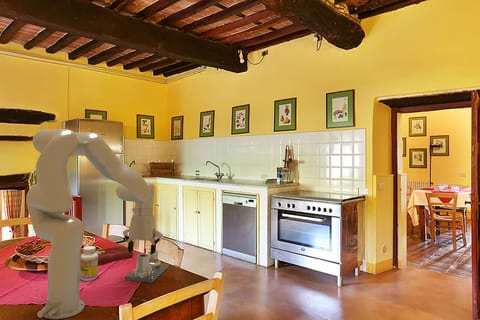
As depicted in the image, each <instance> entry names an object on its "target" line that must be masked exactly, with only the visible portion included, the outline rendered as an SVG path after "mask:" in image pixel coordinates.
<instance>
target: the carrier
mask: <svg viewBox="0 0 480 320" xmlns="http://www.w3.org/2000/svg"><path fill="white" fill-rule="evenodd" d="M147 254H148V255H149V267H150V269H152V274H150V276H149V277H144V278H141V277H134V275H133V270H135V268H134V269H133V270H131V271H130V272H129V273H128V274H126V275H125V276H124V281H130V282H139V283H148V284H149V283H154V282H155V281H156V279H158V278H159V277H160V276H161V275H162V274H163V273H164V272H165V271H166V270H167V269H168V268H169V265H170V264H169V263H162V262H161V260H160V259H159V251H157V250H156V252H155V253H154V254H152V255H151V254H150V251H148V253H147Z"/></svg>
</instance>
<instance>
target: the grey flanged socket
mask: <svg viewBox="0 0 480 320" xmlns="http://www.w3.org/2000/svg"><path fill="white" fill-rule="evenodd" d="M134 269H135V270H134ZM134 269H132V271H133V275H134V277H141V278H144V277H149V276H150V274H152V269H150V267H149V255H148V253H140V254H137V255H136V267H135V268H134Z"/></svg>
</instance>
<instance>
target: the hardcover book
mask: <svg viewBox="0 0 480 320" xmlns="http://www.w3.org/2000/svg"><path fill="white" fill-rule="evenodd" d="M95 253H97V254H98V265H102V264H107V263H112V262H117V261H122V260H127V259H132V258H134V256H135V252H134V250H133V251H132V252H130V253H129V252H128V246H126V245H124V244H123V245H117V246H111V247H105V248H104V247H103V248H99V249H96V250H95Z"/></svg>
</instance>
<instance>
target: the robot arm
mask: <svg viewBox="0 0 480 320" xmlns="http://www.w3.org/2000/svg"><path fill="white" fill-rule="evenodd" d="M32 145H33V148H34V149H35V150H36V151H37V152H38V153H40V154H39V156H38V158H37V160H36V163H35V175H36V180H37V183H36V184H33V185H32V186H31V187H30V188H29V190H28V191H27V193H26V200H25V201H26V203H25V204H26V207H27V211H28V214H29V218H30V222H31V225H32V228H33V232H34V234H35V235H36V236H37V237H38V238H39V239H41V240H44V241H46V242H50V243H51V244H52V245H51V248H50V250H49V253H48V257H47V291H46V292H47V294H46V296H47V300H46V301H45V306H43V307H42V308H41V310H39V311H37V317H38V318H45V319H49V320H60V319H61V320H62V319H67V318H70V317H74V316H75V315H78V314H79V313H81V312H82V311H83V310H84V309H85V302H84V301H83V300H82V299H80V297H81V296H80V293H81V289H80V288H81V279H80V259H81V255H82V253H81V252H82V244H83V240H84V237H85V236H84V235H85V226H84V224H83V221H82V220H80V219H79V218H77V217H76V216H74V215H69V214H65V213H68V212H69V211H70V210H71V209H72V207H73V204H74V199H73V193H72V189H71V185H70V182H69V177H68V172H67V171H68V170H67V167H68V163H69V160H70V158H72V156H79V157H80V156H81V157H85V158H86V159H87V161H89V163H91V165H92V166H93V167H94V168H95V169H96V170H97V171H98V173H99V174H100V175H101V176H103V177H104V178H106V179H108V180H110V181H113V182H115V183H118V184H119V185H117V187H116V189H115V194H116V196H117V198H118V199H120V200H121V201H125V202H133V203H134V208H131V212H133V214H132V215H131V219H130V224H129V228H128V229H125V230H123V231H122V235H123V237H124V239H125V240H126V243H127V247H128V252H129V253H130V252H132V251H134V240H136V241H145V242H146V241H149V242H150V243H151V245H150V250H149V252H150V254H151V255H152V254H154V253H155V252H156V251H157V244H158V243H159V242H160V241H161V239H162V238H163V235H164V233H161V232H160V231H158V230H157V228H156V227H157V226H156V218H155V215H154V205H155V204H154V201H155V187H156V185H155V184H154V183H153V182H147V181H146V180H145V178H144V177H143V176H142V175H141V174H140V173H139V172H138V171H136V170H135V169H134V168H132V167H130V166H129V165H128V164H126V163H125V162H123V161H122V160H121V159H120V158H119V157H118V155H117V154H116V153H115V152H114V151H113V149H112V148H111V147H110V146H109V144H108V143H107V141H106V140H105V139H104V138H103V136H101V135H100V134H99V133H96V132H92V131H91V132H89V131H87V132H83V131H81V132H80V131H79V132H76V131H73V130H72V129H67V128H44V129H41V130H39V131H37V132H35V134H34V136H32ZM156 236H157V238H156Z"/></svg>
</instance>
